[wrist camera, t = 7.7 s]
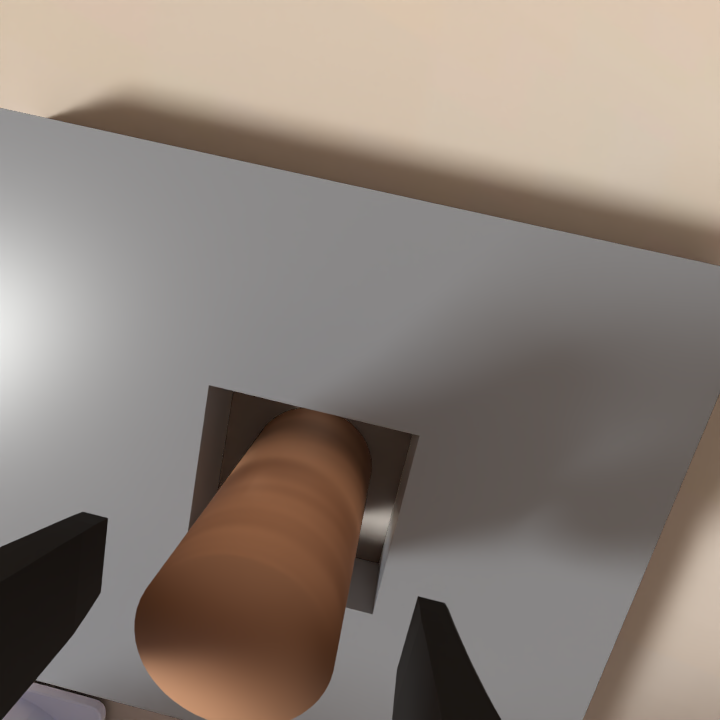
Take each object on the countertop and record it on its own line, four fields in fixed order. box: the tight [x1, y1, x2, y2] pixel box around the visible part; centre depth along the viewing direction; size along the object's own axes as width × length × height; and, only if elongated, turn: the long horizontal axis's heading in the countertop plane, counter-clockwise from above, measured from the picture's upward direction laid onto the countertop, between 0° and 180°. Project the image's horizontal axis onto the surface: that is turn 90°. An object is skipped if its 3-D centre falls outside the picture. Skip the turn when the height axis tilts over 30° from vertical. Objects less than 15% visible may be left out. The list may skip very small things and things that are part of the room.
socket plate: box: [0, 108, 720, 720], centre depth 17 cm, size 18×20×2 cm
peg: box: [134, 408, 372, 720], centre depth 14 cm, size 4×4×8 cm
